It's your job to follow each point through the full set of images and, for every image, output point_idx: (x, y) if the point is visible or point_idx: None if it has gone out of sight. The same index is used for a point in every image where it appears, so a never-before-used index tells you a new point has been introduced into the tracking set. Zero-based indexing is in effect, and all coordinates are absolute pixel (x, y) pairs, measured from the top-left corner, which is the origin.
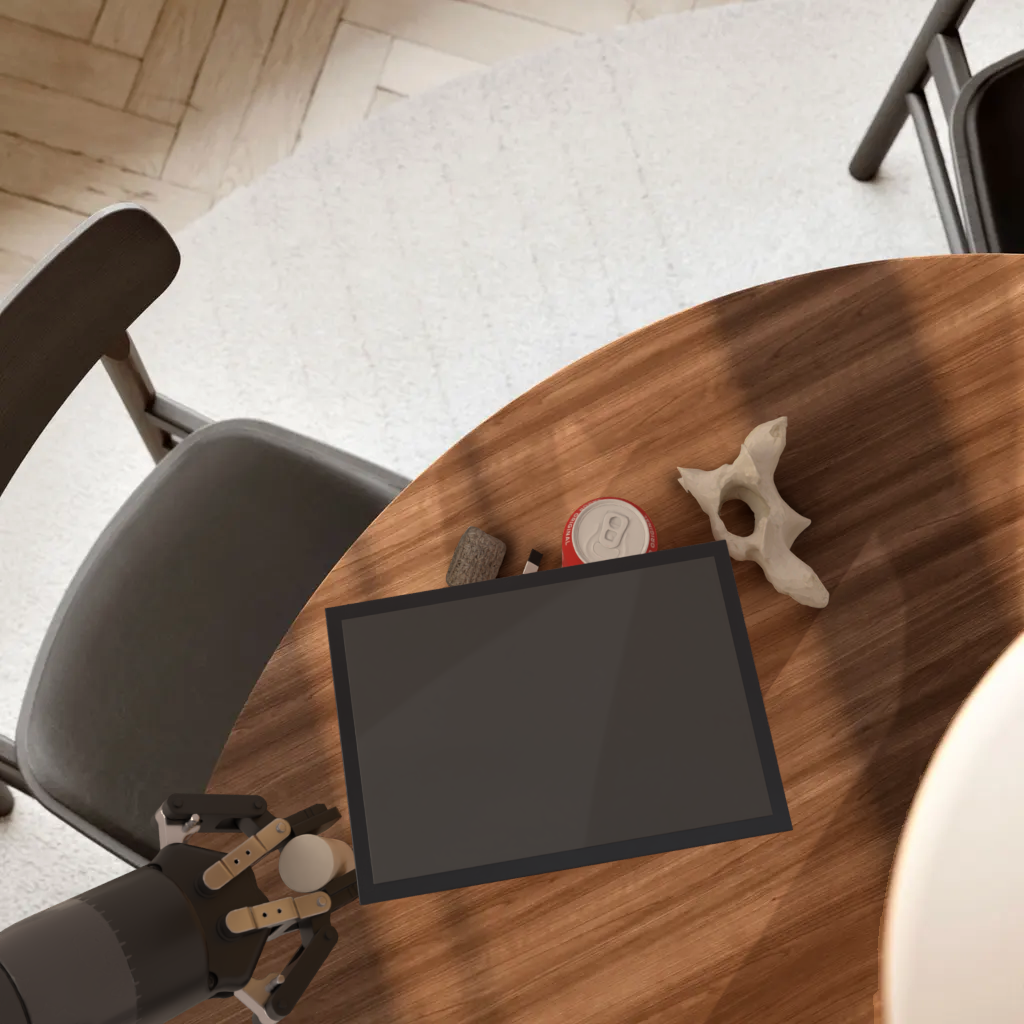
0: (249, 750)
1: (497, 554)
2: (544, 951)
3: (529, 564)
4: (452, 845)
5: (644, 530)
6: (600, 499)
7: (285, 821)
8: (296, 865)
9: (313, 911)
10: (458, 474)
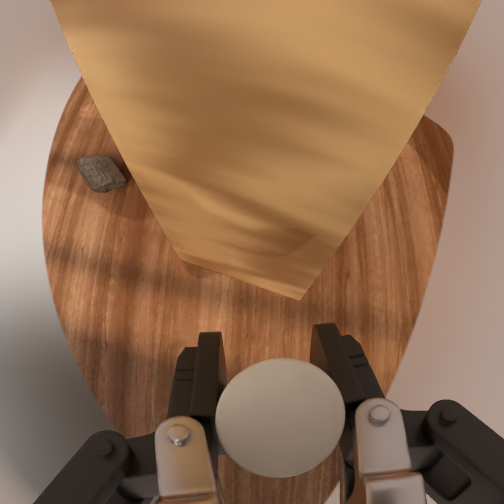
0: (119, 413)
1: (106, 159)
2: (390, 267)
3: None
4: None
5: None
6: None
7: (172, 419)
8: (275, 441)
9: (399, 437)
10: (55, 169)
